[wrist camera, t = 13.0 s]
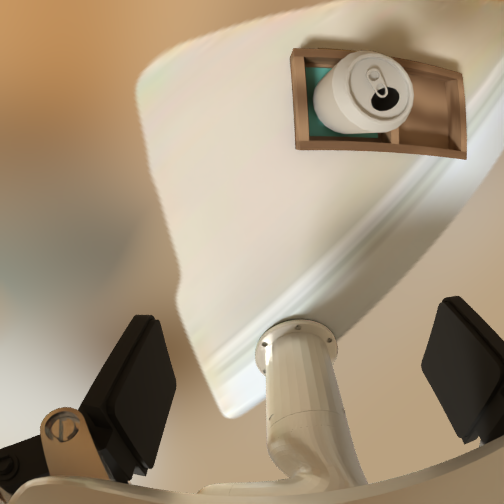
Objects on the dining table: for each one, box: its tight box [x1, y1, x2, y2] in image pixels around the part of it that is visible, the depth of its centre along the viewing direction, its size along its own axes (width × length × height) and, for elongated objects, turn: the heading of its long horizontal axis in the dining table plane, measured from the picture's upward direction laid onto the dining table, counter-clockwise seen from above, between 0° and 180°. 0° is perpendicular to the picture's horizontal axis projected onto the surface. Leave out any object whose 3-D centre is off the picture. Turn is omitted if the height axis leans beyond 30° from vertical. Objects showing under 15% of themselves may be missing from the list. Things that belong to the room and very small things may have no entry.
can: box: [313, 50, 414, 134], centre depth 24 cm, size 8×8×12 cm
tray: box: [290, 48, 467, 160], centre depth 29 cm, size 12×22×4 cm, turn 93°
